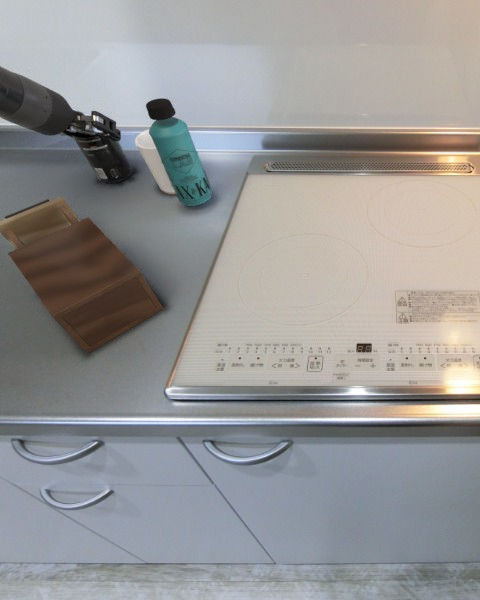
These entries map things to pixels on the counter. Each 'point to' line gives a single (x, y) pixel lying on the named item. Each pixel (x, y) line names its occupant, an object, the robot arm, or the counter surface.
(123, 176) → the beverage can
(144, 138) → the mug
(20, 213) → the drawer
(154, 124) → the beverage bottle
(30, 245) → the cabinet
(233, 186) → the counter surface
